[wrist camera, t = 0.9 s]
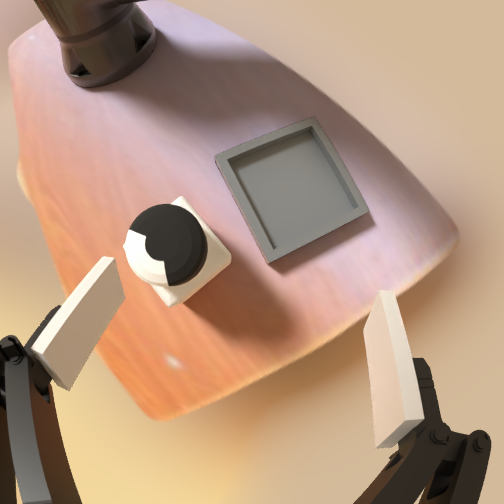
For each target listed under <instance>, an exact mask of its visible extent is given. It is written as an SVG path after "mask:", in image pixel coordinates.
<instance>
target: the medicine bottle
mask: <svg viewBox="0 0 504 504" xmlns="http://www.w3.org/2000/svg"><path fill="white" fill-rule="evenodd" d="M123 247H124V250H125V251H126V256H127V259H128V262H129V264H130V266H131V268H132V270H133V271H134V272H135V274H136V275H137V276H138V277H139V278H141V279H142V280H143V281H145V282H147V283H149V284H150V285H151V286H152V287H153V288H154V290H155V291H156V292H157V294H158V295H159V296H160V297H161V299H162V300H163V301H164V302H165V304H166V305H167V306H168V307H174V306H176V305H179V304H181V303H183V302H185V301H186V300H187V299H189V298H190V297H191V296H192V295H193V294H195V293H196V292H197V291H198V290H199V289H201V288H202V287H203V286H204V285H205V284H207V283H208V282H209V281H210V280H211V279H213V278H214V277H215V276H216V275H217V274H219V273H220V272H221V271H222V270H223V269H225V268H226V267H227V266H228V265H229V264H230V263H231V253H230V252H229V251H228V250H227V248H226V247H225V246H224V245H223V244H222V242H221V241H220V240H219V239H218V238H217V236H216V235H215V234H214V233H213V232H212V230H211V229H210V228H209V227H208V226H207V224H206V223H205V222H204V221H203V219H202V218H201V217H200V216H199V215H198V213H197V212H196V211H195V210H194V209H193V207H192V206H191V205H190V204H189V203H188V201H187V200H186V199H185V198H184V197H179V198H178V199H176V200H175V201H174V202H173V203H171V204H161V205H156V206H153V207H150V208H148V209H147V210H145V211H143V212H142V213H141V214H140V215H139V216H138V217H137V218H136V219H135V220H134V222H133V223H132V225H131V226H130V228H129V231H128V234H127V238H126V243H125V244H124V246H123Z"/></svg>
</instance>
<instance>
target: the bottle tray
mask: <svg viewBox="0 0 504 504" xmlns="http://www.w3.org/2000/svg"><path fill="white" fill-rule="evenodd" d="M215 163H216V165H217V167H218V169H219V171H220V173H221V174H222V176H223V178H224V180H225V182H226V184H227V186H228V188H229V190H230V192H231V194H232V196H233V198H234V200H235V202H236V204H237V206H238V208H239V210H240V212H241V214H242V216H243V218H244V220H245V222H246V224H247V226H248V227H249V229H250V231H251V233H252V235H253V237H254V239H255V241H256V243H257V245H258V247H259V249H260V251H261V253H262V255H263V257H264V259H265V261H266V263H267V264H268V263H270V262H272V261H274V260H276V259H278V258H280V257H282V256H284V255H286V254H288V253H290V252H292V251H294V250H296V249H298V248H300V247H302V246H303V245H305V244H307V243H309V242H311V241H313V240H315V239H317V238H319V237H321V236H323V235H325V234H327V233H329V232H331V231H333V230H335V229H337V228H338V227H340V226H342V225H344V224H346V223H348V222H350V221H352V220H354V219H356V218H358V217H360V216H361V215H363V214H365V213H367V212H369V209H368V207H367V205H366V203H365V201H364V199H363V197H362V196H361V194H360V192H359V190H358V188H357V186H356V185H355V183H354V181H353V179H352V177H351V176H350V174H349V172H348V170H347V168H346V167H345V165H344V163H343V162H342V160H341V158H340V156H339V155H338V153H337V151H336V150H335V148H334V146H333V145H332V143H331V142H330V140H329V138H328V137H327V135H326V134H325V132H324V130H323V129H322V127H321V126H320V124H319V123H318V121H317V120H316V118H315V117H312V118H309V119H306V120H304V121H301V122H298V123H295V124H292V125H289V126H287V127H284V128H281V129H279V130H276V131H273V132H271V133H268V134H266V135H263V136H260V137H258V138H255V139H253V140H250V141H248V142H245V143H243V144H241V145H238V146H236V147H233V148H231V149H229V150H226V151H224V152H222V153H219V154H217V155H215Z"/></svg>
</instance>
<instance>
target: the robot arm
mask: <svg viewBox="0 0 504 504" xmlns="http://www.w3.org/2000/svg"><path fill="white" fill-rule="evenodd" d="M34 1H35V3H36V4H37V6H38V8H39V9H40V11H41V12H42V14H43V16H44V17H45V19H46V20H47V22H48V24H49V25H50V27H51V28H52V30H53V31H54V33H55V34H56V36H57V38H58V39H59V41H60V46H61V53H62V60H63V66H64V70H65V72H66V74H67V75H68V76H69V78H70V79H71V81H72V82H73V83H75V84H76V85H78V86H82V87H98V86H102V85H106V84H109V83H112V82H114V81H117V80H119V79H121V78H123V77H125V76H126V75H128V74H130V73H131V72H133V71H134V70H135V69H137V68H138V67H139V66H140V65H141V64H143V63H144V62H145V61H146V59H147V58H148V57H149V56H150V54H151V53H152V51H153V50H154V47H155V45H156V40H157V37H156V32H155V28H154V25H153V23H152V21H151V20H150V19H149V18H148V17H147V16H146V14H145V13H144V12H143V11H142V10H141V9H140V8H139V7H138V5H137V4H136V3H135V2H139V1H146V0H34ZM125 298H126V297H125V294H124V291H123V287H122V284H121V280H120V277H119V273H118V269H117V265H116V262H115V258H112V257H105V256H103V257H102V258H101V259H100V260H99V261H98V263H97V264H96V265H95V266H94V267H93V268H92V270H91V271H90V272H89V273H88V274H87V275H86V277H85V278H84V279H83V280H82V281H81V283H80V284H79V285H78V286H77V287H76V289H75V290H74V291H73V292H72V294H71V295H70V296H69V297H68V299H67V300H66V301H65V302H64V304H63V305H62V306H60V305H58V306H57V307H55V308H54V309H52V310H51V311H50V312H49V314H48V315H47V316H46V318H45V320H43V321H42V323H41V324H40V326H39V327H38V328H37V329H36V331H35V332H34V334H33V335H32V336H31V337H30V339H29V340H28V342H27V343H26V344H25V346H24V347H23V346H22V344H21V343H20V341H19V340H18V338H17V337H16V336H13V335H8V336H6V337H4V338H3V339H2V340H1V341H0V504H17V498H16V478H17V482H18V487H19V491H20V495H21V498H22V502H23V504H82V502H81V499H80V496H79V494H78V491H77V488H76V485H75V482H74V479H73V476H72V473H71V470H70V466H69V463H68V460H67V456H66V452H65V449H64V445H63V441H62V437H61V432H60V428H59V423H58V419H57V414H56V409H55V403H54V397H53V391H52V386H51V384H50V382H51V380H52V379H53V380H54V382H55V383H56V384H57V385H58V386H60V387H62V388H64V389H66V390H68V391H70V389H71V387H72V385H73V384H74V382H75V380H76V378H77V377H78V375H79V373H80V371H81V369H82V368H83V366H84V364H85V362H86V361H87V359H88V357H89V356H90V354H91V352H92V351H93V349H94V347H95V346H96V344H97V342H98V341H99V339H100V337H101V336H102V334H103V332H104V331H105V329H106V328H107V326H108V324H109V323H110V321H111V320H112V318H113V316H114V315H115V313H116V312H117V310H118V309H119V307H120V306H121V304H122V302H123V301H124V299H125ZM363 332H364V338H365V344H366V353H367V360H368V369H369V377H370V387H371V397H372V408H373V421H374V438H375V448H390V447H393V446H394V445H396V444H397V443H398V446H399V450H398V451H396V452H395V453H394V454H392V455H391V456H390V457H389V459H391V460H390V461H389V462H388V464H387V465H386V466H385V468H384V469H383V470H382V471H381V473H380V474H379V475H378V476H377V477H376V479H375V480H374V481H373V482H372V483H371V484H370V486H369V487H368V488H367V489H366V490H365V491H364V492H363V494H362V495H361V496H360V497H359V498H358V499H357V500H356V501H355V502H354V503H353V504H414V502H415V501H416V500H417V498H418V497H419V495H420V494H421V492H422V491H423V489H424V488H425V489H424V492H423V494H422V497H421V499H420V501H419V504H477V503H478V500H479V497H480V493H481V490H482V486H483V482H484V479H485V474H486V470H487V465H488V460H489V456H490V451H491V439H490V436H489V435H488V434H487V433H486V432H485V431H483V430H476V431H474V432H472V433H471V434H470V435H466V434H461V433H457V432H453V431H451V430H450V427H449V426H448V425H446V423H443V421H442V419H441V415H440V410H439V405H438V400H437V395H436V391H435V389H434V382H433V380H432V374H431V370H430V367H429V366H428V364H427V363H426V361H425V360H424V358H412V356H411V351H410V348H409V344H408V340H407V336H406V332H405V328H404V325H403V321H402V318H401V314H400V311H399V308H398V305H397V301H396V298H395V294H394V292H393V291H382V290H379V292H378V294H377V297H376V300H375V302H374V305H373V307H372V310H371V312H370V315H369V317H368V320H367V322H366V325H365V327H364V330H363ZM15 474H16V478H15ZM425 486H426V487H425Z"/></svg>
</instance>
